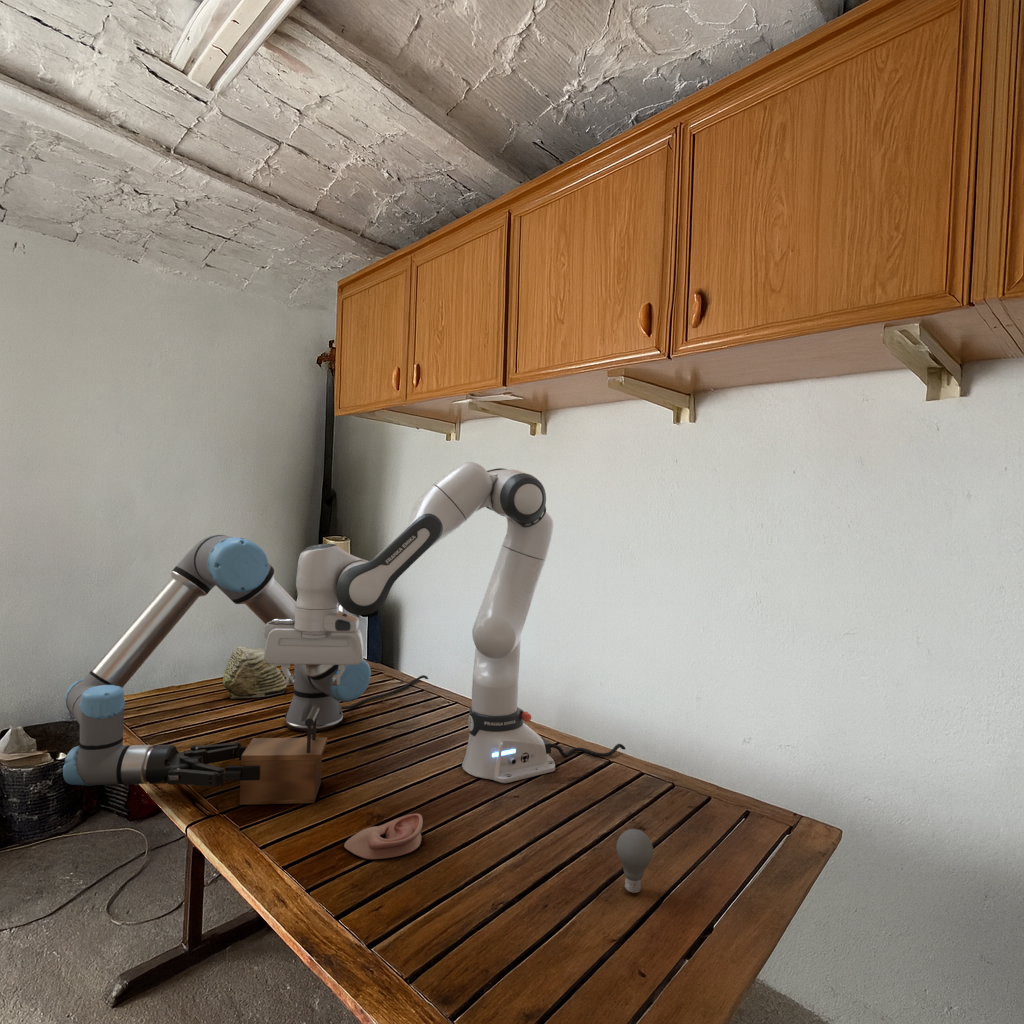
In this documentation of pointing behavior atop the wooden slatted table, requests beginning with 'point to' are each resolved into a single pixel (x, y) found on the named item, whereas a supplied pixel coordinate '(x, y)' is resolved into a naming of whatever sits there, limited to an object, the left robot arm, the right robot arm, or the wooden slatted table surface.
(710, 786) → the wooden slatted table surface
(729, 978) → the wooden slatted table surface
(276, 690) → the fossil
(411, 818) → the anatomical model
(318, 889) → the wooden slatted table surface
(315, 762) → the chest
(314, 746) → the lid
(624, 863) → the light bulb
